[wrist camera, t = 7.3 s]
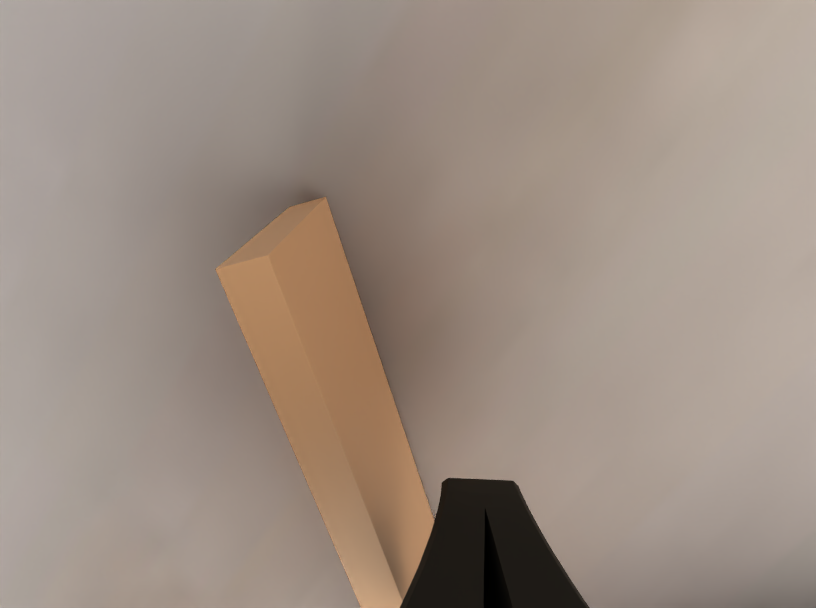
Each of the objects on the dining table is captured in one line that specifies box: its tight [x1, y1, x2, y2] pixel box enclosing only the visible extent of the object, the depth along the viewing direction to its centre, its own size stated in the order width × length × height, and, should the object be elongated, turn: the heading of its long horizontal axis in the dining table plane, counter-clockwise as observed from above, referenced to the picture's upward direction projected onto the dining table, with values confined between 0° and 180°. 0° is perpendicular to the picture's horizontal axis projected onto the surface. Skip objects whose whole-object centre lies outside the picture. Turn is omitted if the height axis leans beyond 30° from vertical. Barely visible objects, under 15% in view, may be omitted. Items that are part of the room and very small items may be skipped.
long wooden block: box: [215, 197, 434, 608], centre depth 12 cm, size 16×1×4 cm, turn 16°
